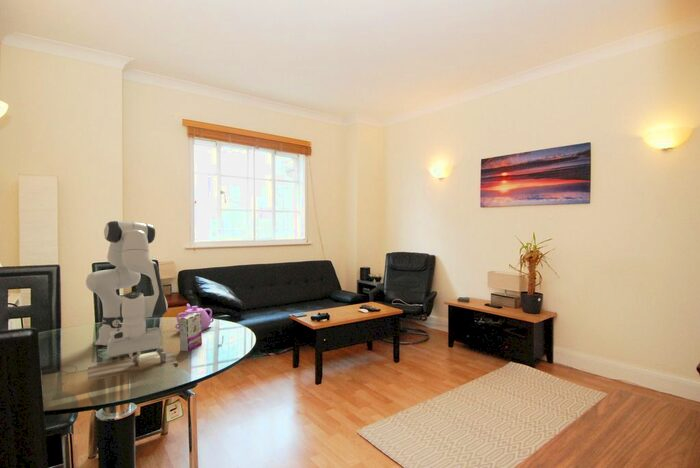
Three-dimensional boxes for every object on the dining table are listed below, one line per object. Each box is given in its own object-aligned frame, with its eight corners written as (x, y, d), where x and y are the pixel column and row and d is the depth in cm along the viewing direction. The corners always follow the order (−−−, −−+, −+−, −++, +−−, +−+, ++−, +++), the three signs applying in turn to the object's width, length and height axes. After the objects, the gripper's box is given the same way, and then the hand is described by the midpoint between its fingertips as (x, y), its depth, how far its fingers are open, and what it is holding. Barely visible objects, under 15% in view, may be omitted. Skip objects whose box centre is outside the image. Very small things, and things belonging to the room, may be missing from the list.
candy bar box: (193, 343, 188) (192, 312, 188) (202, 344, 187) (201, 312, 187) (179, 351, 177) (178, 318, 177) (188, 351, 176) (187, 318, 176)
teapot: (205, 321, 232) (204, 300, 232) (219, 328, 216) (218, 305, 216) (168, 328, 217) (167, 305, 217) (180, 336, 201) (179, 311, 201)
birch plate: (137, 360, 162) (137, 355, 161) (157, 356, 166) (157, 351, 166) (139, 367, 153) (139, 361, 153) (160, 363, 158) (160, 357, 158)
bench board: (88, 370, 155) (87, 358, 154) (170, 354, 173) (170, 342, 173) (87, 385, 140) (87, 371, 140) (177, 365, 158) (177, 353, 158)
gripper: (160, 324, 165) (161, 354, 165) (106, 332, 153) (107, 365, 154) (162, 327, 160) (163, 358, 160) (106, 336, 148) (107, 369, 148)
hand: (135, 362), depth 157 cm, fingers closed
